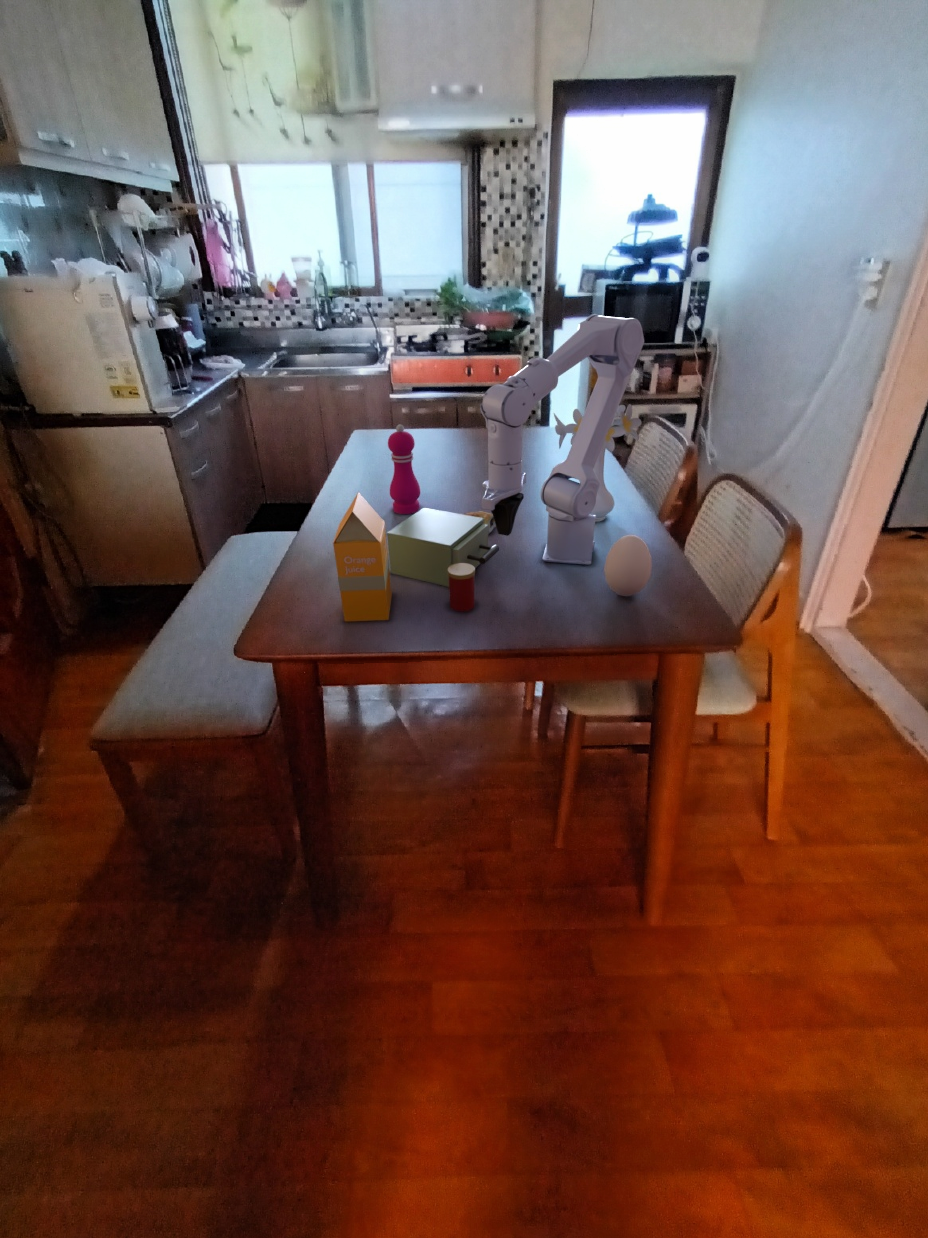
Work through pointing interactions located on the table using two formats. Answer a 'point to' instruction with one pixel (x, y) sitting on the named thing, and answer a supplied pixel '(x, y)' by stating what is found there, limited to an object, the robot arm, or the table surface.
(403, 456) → the pepper mill
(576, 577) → the table surface
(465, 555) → the drawer
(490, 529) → the pastry
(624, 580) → the egg
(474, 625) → the table surface
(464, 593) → the tea tin
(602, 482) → the flower vase
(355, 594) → the orange juice
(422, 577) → the cabinet
